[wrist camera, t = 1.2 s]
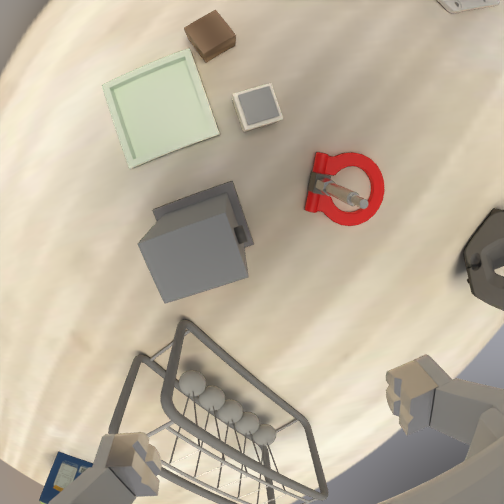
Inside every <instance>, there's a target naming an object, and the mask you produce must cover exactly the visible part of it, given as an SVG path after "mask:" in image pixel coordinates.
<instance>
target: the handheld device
mask: <svg viewBox="0 0 504 504" xmlns="http://www.w3.org/2000/svg"><path fill="white" fill-rule="evenodd" d="M464 259H465V263H466V268H467V271H468V272H467V273H468V279H467V282H468V283H470V288H471V292H472V294H473V295H474V296H475V297H477V298H479V299H480V300H482V301H484V302H486V303H487V304H489V305H491V306H494V307H496V308H498V309H501V310H503V311H504V277H503V276H501V275H498V274H496V273H495V272H494V270H495V269H497V268H500V267H502V266H504V210H499V209H493V210H492V211H491V215H490V216H489V217H488V218H487V219H486V220H485V222H484V223H483V224H482V226H481V227H480V228H479V230H478V231H477V232H476V234H475V235H474V236H473V238H472V239H471V241H470V242H469V243H468V245H467V247H466V248H465V250H464Z"/></svg>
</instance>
